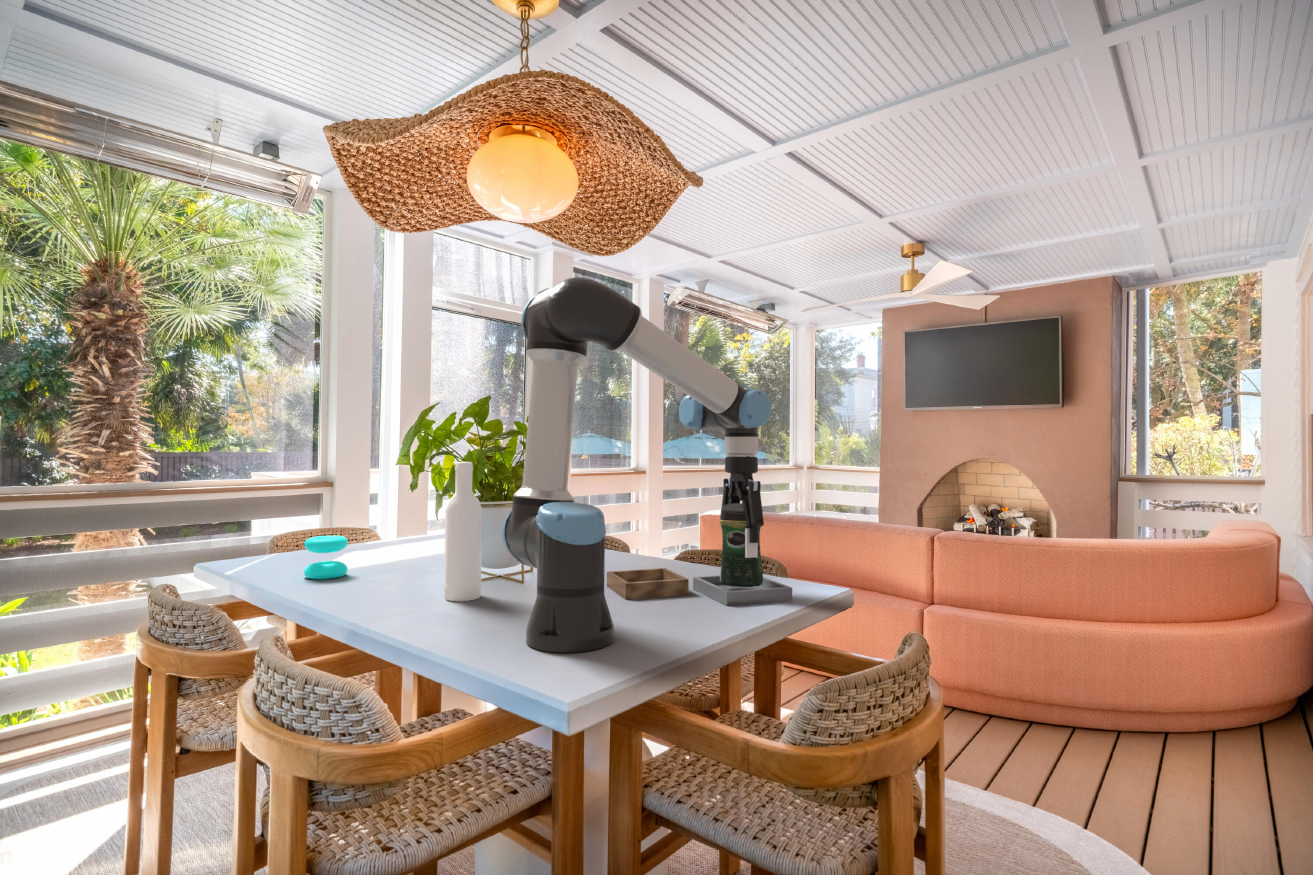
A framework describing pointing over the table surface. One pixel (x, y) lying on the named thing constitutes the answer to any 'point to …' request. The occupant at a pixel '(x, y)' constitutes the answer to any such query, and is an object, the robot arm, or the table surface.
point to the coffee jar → (737, 550)
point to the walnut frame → (647, 583)
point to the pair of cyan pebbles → (325, 567)
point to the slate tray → (742, 591)
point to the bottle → (463, 539)
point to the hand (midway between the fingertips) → (741, 553)
